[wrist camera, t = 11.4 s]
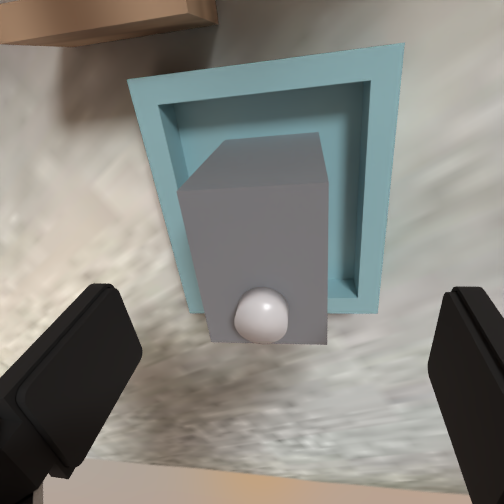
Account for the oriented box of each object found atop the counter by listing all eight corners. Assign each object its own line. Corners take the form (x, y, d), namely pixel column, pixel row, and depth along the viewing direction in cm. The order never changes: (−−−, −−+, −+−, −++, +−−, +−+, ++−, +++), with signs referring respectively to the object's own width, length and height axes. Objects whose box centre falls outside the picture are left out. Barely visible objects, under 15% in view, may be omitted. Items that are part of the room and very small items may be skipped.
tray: (387, 44, 16) (404, 42, 13) (369, 284, 22) (377, 313, 20) (152, 75, 18) (126, 79, 15) (201, 286, 25) (189, 313, 22)
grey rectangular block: (318, 131, 17) (331, 193, 9) (319, 248, 20) (328, 363, 13) (224, 139, 18) (165, 202, 10) (240, 250, 21) (205, 360, 14)
